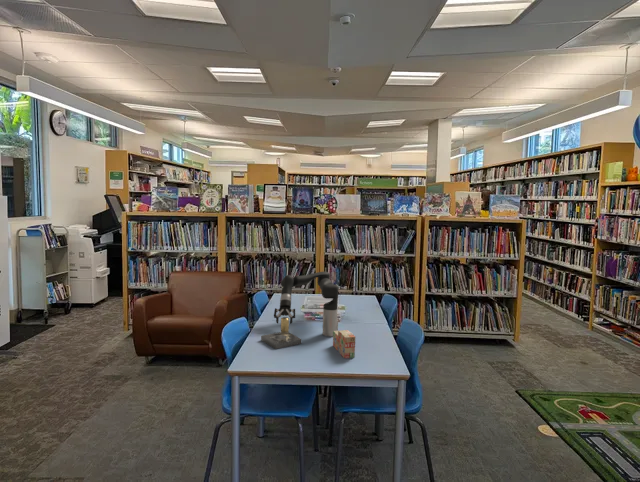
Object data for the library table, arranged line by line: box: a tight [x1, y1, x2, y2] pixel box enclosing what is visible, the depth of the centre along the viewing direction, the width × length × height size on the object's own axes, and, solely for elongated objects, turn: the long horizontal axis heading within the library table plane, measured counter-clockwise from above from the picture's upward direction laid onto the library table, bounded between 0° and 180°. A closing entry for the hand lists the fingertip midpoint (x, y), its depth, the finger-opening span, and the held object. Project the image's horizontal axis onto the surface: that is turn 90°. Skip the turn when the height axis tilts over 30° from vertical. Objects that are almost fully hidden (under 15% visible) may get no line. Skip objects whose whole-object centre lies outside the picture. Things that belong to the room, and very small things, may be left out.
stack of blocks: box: [332, 329, 357, 359], centre depth 237 cm, size 21×6×12 cm, turn 16°
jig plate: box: [260, 331, 303, 350], centre depth 250 cm, size 18×18×3 cm
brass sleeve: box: [280, 316, 290, 333], centre depth 267 cm, size 5×5×10 cm
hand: (284, 323), depth 269 cm, fingers open, 8 cm apart
